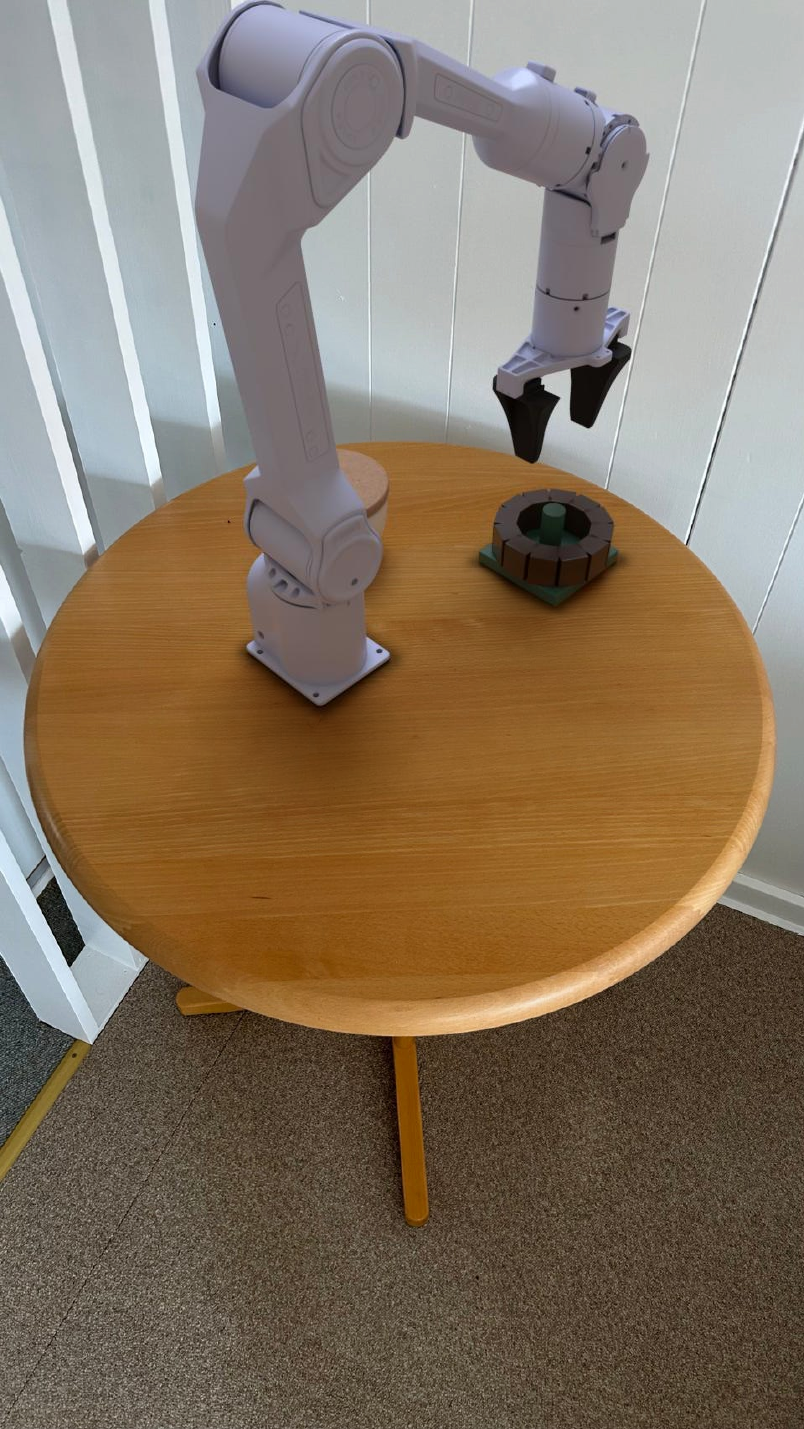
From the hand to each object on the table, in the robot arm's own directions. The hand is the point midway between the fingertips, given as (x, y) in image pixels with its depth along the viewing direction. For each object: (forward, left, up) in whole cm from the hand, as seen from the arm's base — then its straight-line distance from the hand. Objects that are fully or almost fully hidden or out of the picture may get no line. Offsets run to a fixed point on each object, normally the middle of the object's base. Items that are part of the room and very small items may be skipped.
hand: (554, 440), depth 84 cm
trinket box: (-12, -16, -10) cm, 22 cm away
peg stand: (+3, -3, -10) cm, 11 cm away
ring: (+3, -3, -9) cm, 10 cm away
